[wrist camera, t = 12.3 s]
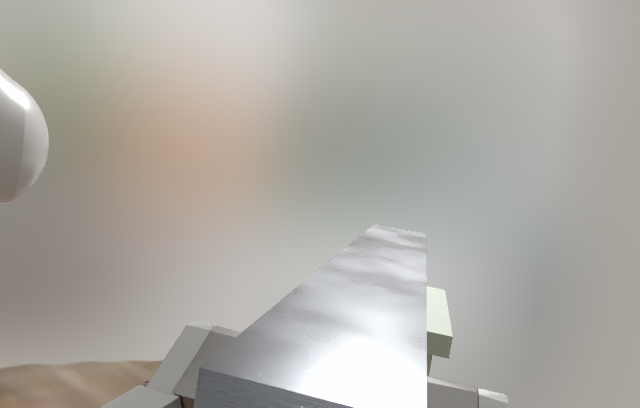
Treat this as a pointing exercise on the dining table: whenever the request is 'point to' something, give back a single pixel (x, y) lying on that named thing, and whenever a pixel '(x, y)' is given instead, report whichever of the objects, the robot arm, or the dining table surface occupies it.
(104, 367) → the dining table surface
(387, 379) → the graphite bar
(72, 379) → the dining table surface
